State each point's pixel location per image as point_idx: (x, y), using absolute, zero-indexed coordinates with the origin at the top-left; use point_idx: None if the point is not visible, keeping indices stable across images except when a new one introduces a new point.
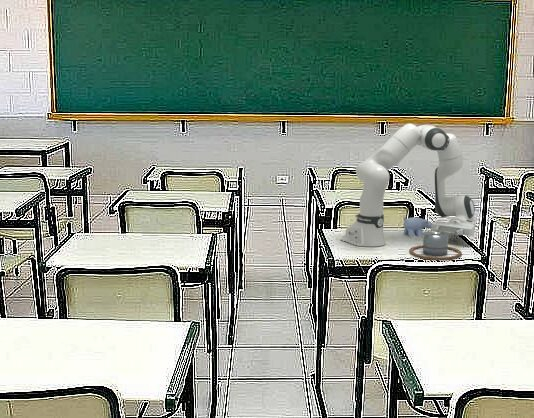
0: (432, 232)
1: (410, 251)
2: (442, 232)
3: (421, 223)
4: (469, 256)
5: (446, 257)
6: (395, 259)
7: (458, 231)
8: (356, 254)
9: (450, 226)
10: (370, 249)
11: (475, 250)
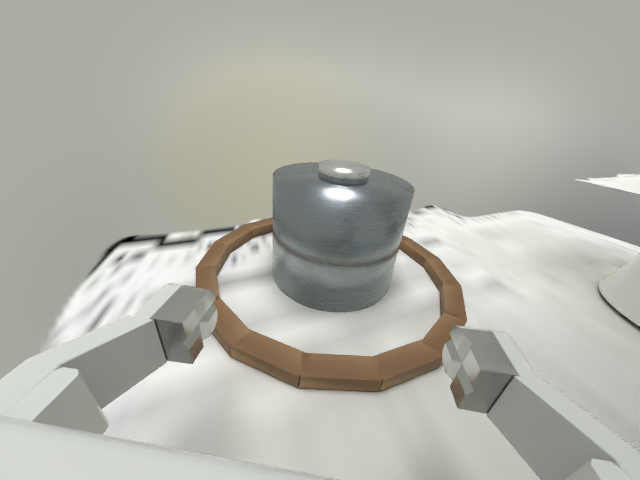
0: (357, 163)
1: (415, 243)
2: (322, 197)
3: None
4: (157, 271)
5: (269, 220)
6: None
7: (161, 297)
8: (517, 223)
9: (312, 477)
10: (559, 259)
11: None
